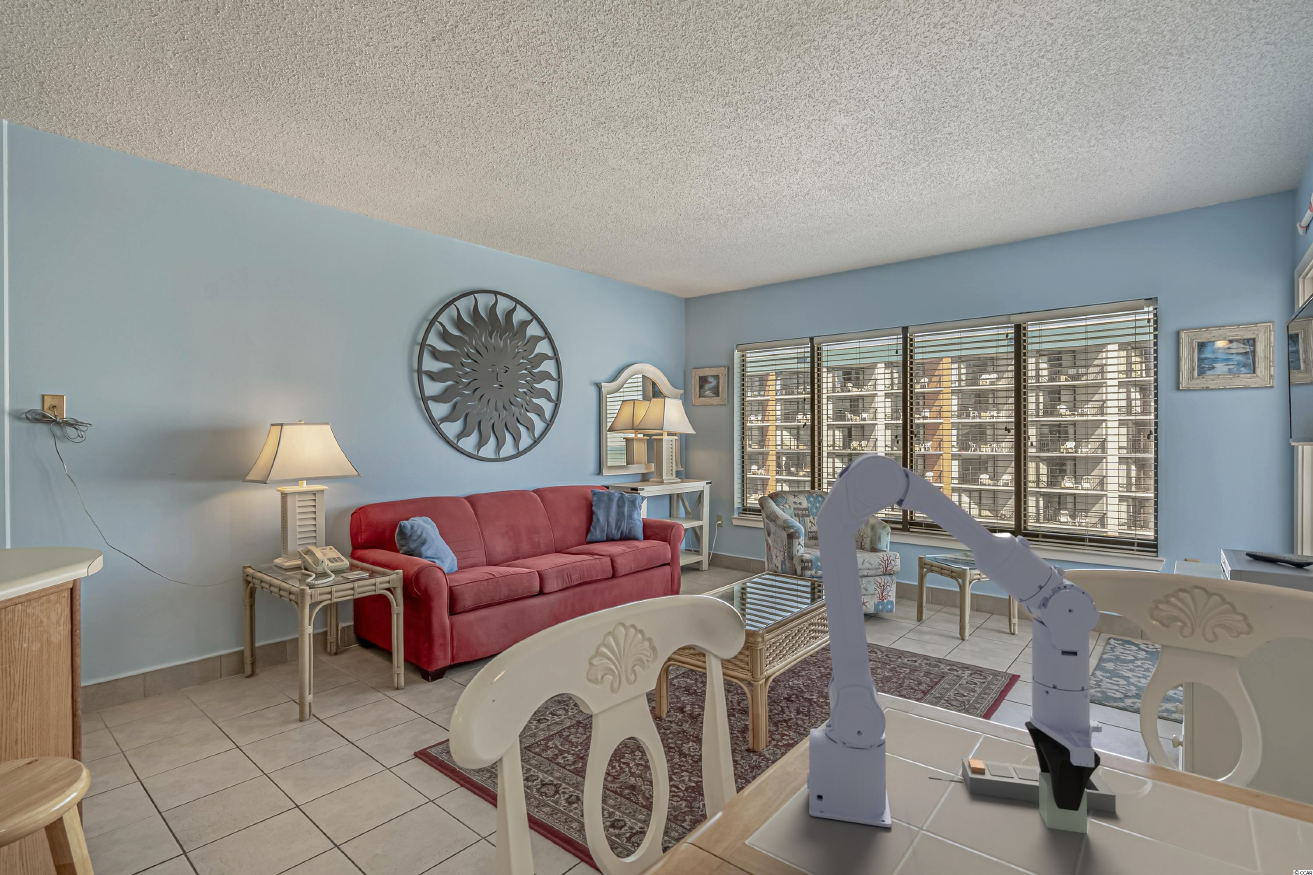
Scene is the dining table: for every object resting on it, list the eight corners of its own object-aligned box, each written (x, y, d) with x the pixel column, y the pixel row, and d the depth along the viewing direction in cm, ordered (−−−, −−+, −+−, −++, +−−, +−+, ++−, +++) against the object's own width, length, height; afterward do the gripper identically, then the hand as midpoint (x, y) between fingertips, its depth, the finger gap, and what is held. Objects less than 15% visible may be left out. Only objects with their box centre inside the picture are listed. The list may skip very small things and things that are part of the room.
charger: (1047, 836, 74) (1046, 776, 74) (1039, 821, 76) (1038, 763, 76) (1087, 842, 72) (1086, 781, 72) (1077, 827, 75) (1076, 767, 75)
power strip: (931, 795, 82) (931, 767, 82) (926, 775, 87) (925, 748, 87) (1115, 819, 76) (1115, 789, 76) (1099, 797, 81) (1098, 769, 81)
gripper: (1127, 710, 66) (1128, 841, 66) (1076, 663, 80) (1077, 771, 80) (1051, 703, 68) (1051, 830, 68) (1014, 658, 82) (1014, 763, 82)
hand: (1060, 797), depth 75 cm, fingers open, 4 cm apart
